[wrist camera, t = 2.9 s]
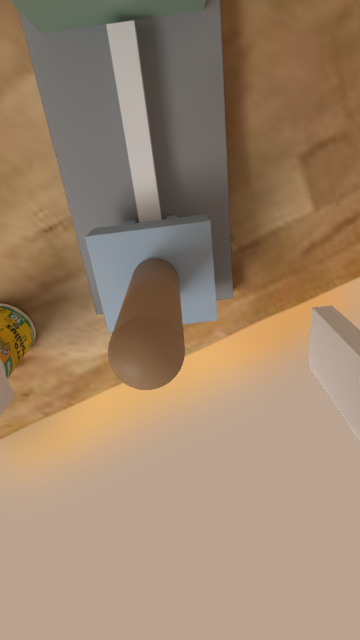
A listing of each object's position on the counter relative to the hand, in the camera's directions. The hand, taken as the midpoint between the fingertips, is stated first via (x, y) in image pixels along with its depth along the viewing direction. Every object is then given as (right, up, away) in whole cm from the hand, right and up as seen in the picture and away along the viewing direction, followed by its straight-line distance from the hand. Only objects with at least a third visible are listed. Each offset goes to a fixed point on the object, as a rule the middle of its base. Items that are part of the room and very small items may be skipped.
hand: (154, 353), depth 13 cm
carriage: (-1, +6, +12) cm, 14 cm away
